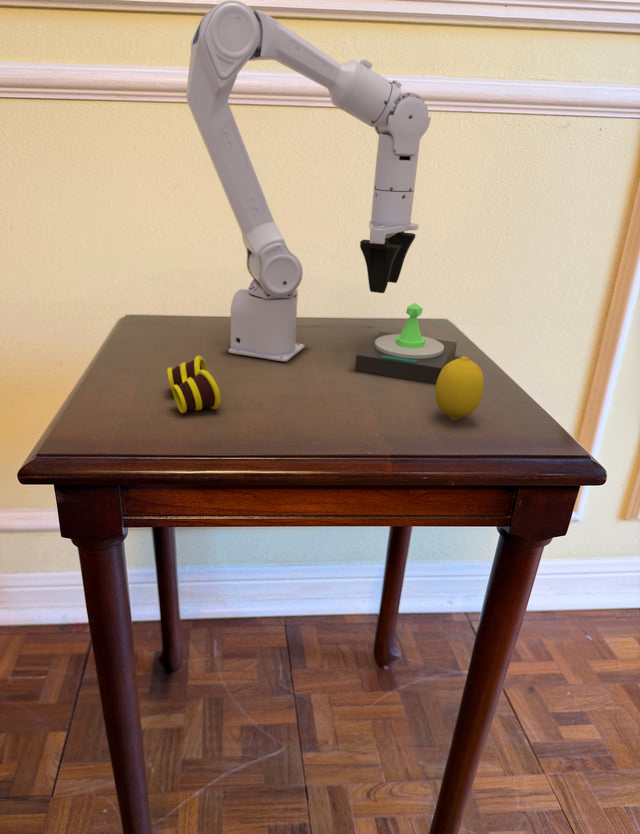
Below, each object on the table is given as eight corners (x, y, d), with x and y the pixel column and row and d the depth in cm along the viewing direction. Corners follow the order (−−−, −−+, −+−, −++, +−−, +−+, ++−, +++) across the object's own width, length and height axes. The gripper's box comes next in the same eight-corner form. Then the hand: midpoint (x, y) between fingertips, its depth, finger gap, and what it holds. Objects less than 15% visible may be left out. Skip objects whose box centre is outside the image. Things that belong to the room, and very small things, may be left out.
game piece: (421, 339, 102) (427, 299, 99) (427, 348, 98) (433, 307, 95) (392, 339, 101) (397, 298, 98) (397, 348, 98) (402, 306, 95)
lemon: (478, 431, 80) (490, 366, 76) (430, 426, 81) (440, 361, 77) (476, 413, 85) (487, 351, 81) (431, 409, 86) (440, 347, 82)
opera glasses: (171, 394, 89) (162, 359, 87) (210, 384, 90) (202, 349, 88) (182, 424, 81) (171, 386, 79) (224, 413, 82) (216, 374, 79)
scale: (355, 371, 97) (356, 350, 96) (378, 346, 108) (380, 327, 107) (438, 384, 94) (442, 363, 92) (454, 357, 104) (457, 338, 103)
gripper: (410, 196, 89) (398, 300, 96) (431, 187, 101) (420, 280, 108) (358, 192, 92) (350, 294, 98) (385, 184, 104) (376, 275, 110)
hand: (383, 286), depth 103 cm, fingers open, 7 cm apart
